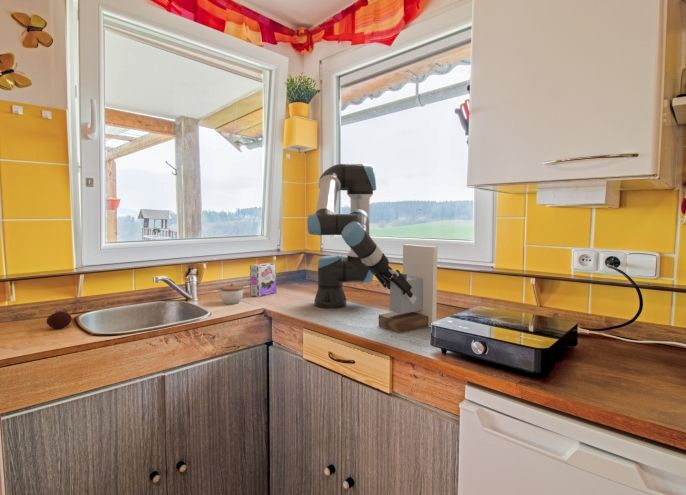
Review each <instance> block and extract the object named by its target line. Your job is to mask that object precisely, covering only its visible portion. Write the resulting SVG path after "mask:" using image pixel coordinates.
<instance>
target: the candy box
mask: <svg viewBox="0 0 686 495" xmlns="http://www.w3.org/2000/svg"><path fill="white" fill-rule="evenodd" d="M276 266H277V264H276V263H274V262H273V263H272V262H266V263H265V262H264V263H258V264H250V265H249V270H250V271H249V273H250V274H249V283H250V285H249V286H250V288H249V289H250V296H251V297H256V298H259V297H260V298H261V297H265V296H270V295H273V294H276V293H277V270H276V269H277V267H276Z"/></svg>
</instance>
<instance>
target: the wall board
mask: <svg viewBox="0 0 686 495" xmlns="http://www.w3.org/2000/svg"><path fill="white" fill-rule="evenodd" d="M402 274H407V277H411V276H412V277H418V278H423V308H422V310H419V311H414V312H415V313H419V314H422V315H426V316H428V327H427V328H430V326H431V323H433V322H435V321H436V322H437V292H438V291H437V289H438V246H430V245H419V244H418V245H417V244H407V243H406V244H402Z"/></svg>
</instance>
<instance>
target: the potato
mask: <svg viewBox="0 0 686 495" xmlns="http://www.w3.org/2000/svg"><path fill="white" fill-rule="evenodd" d="M72 320H73V318H72V316H71V314H70V313H68V312H66V311H62V310H61V311H60V310H59V311H55V312H53V313H52V314H50V315H49V316H48V317H47V319H46V324H47V325H48V326H49V327H50V328H53V329H62V328H65V327H67V326H69V325H70V323H71V322H72Z"/></svg>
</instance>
